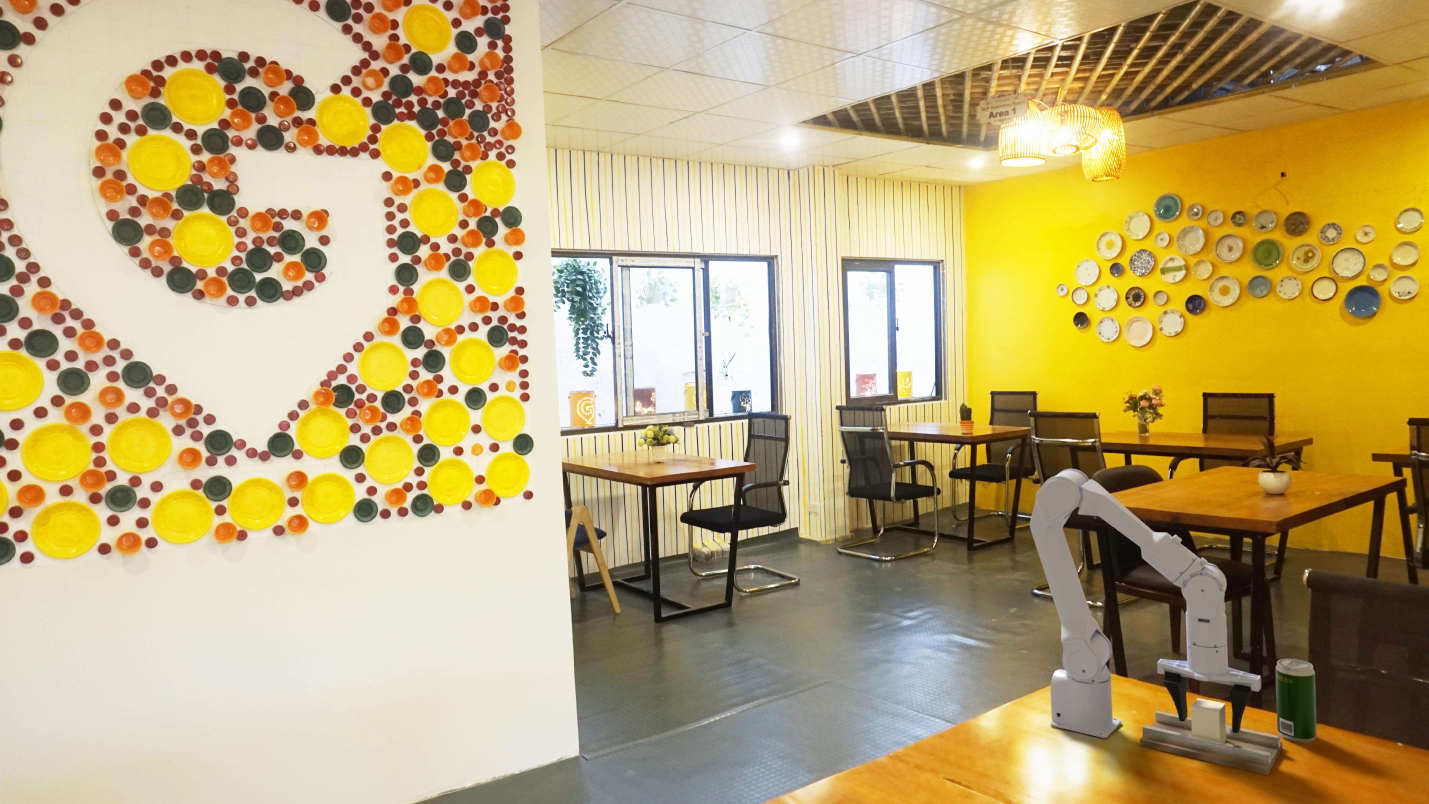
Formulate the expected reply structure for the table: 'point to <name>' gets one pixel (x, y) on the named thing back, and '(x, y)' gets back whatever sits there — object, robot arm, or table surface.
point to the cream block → (1208, 720)
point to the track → (1213, 744)
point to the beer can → (1296, 700)
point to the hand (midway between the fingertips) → (1209, 724)
